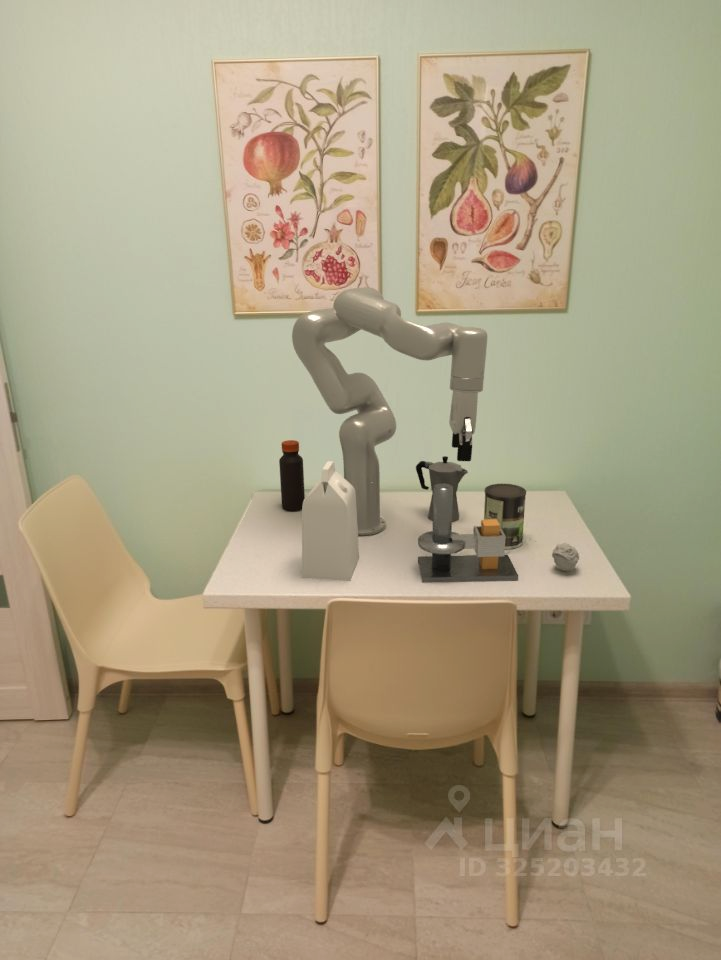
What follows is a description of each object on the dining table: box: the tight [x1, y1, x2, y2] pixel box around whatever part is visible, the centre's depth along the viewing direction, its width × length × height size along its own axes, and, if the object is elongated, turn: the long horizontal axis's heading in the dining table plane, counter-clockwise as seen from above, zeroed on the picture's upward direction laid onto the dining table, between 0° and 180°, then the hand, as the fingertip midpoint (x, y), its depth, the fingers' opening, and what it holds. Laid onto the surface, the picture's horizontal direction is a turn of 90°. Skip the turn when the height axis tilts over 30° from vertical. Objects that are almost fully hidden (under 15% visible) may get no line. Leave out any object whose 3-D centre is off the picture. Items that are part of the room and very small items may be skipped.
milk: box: [301, 460, 360, 582], centre depth 159 cm, size 12×12×26 cm
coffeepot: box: [415, 455, 469, 524], centre depth 189 cm, size 15×9×18 cm, turn 59°
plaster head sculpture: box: [551, 542, 580, 572], centre depth 159 cm, size 6×7×7 cm
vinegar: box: [278, 439, 306, 512], centre depth 197 cm, size 7×7×20 cm
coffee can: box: [483, 483, 527, 550], centre depth 174 cm, size 10×10×14 cm
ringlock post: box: [417, 484, 519, 583], centre depth 158 cm, size 22×11×21 cm, turn 91°
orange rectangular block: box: [479, 519, 500, 569], centre depth 159 cm, size 4×4×11 cm
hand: (461, 453), depth 162 cm, fingers open, 9 cm apart
